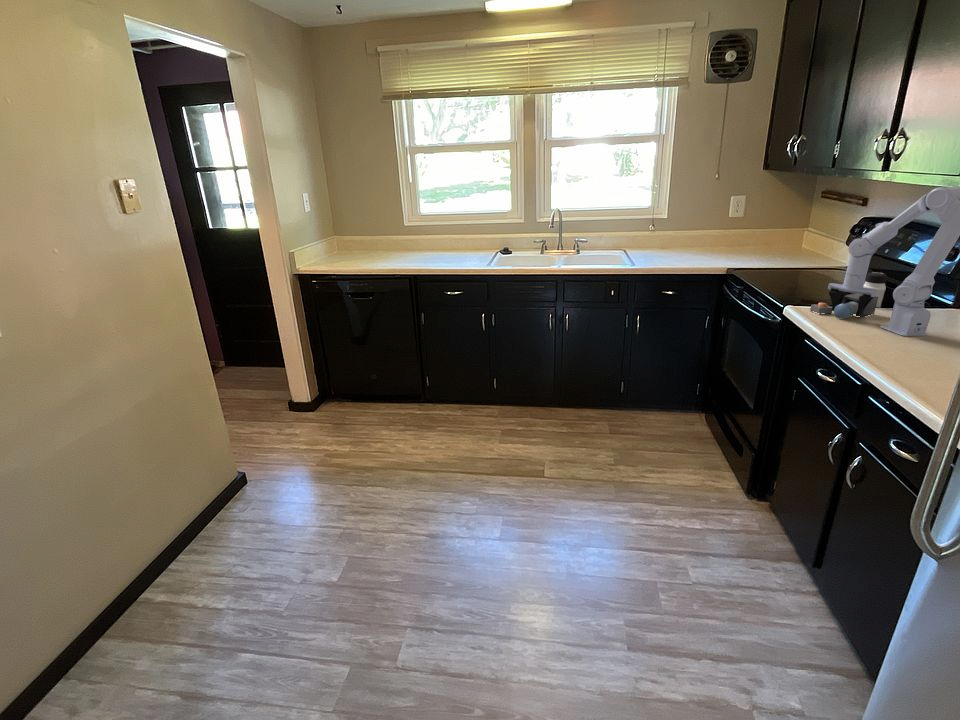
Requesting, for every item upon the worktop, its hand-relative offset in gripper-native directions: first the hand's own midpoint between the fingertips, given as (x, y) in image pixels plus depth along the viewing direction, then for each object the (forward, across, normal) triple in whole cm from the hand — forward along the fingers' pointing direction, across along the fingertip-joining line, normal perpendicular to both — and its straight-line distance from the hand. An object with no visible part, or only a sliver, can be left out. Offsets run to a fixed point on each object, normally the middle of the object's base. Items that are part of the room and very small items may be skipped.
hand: (846, 313), depth 178 cm
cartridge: (+1, 0, -4) cm, 4 cm away
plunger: (+1, +8, 0) cm, 8 cm away
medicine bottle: (+2, +3, -26) cm, 26 cm away
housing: (+2, 0, -8) cm, 8 cm away
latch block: (+2, +8, 0) cm, 8 cm away
